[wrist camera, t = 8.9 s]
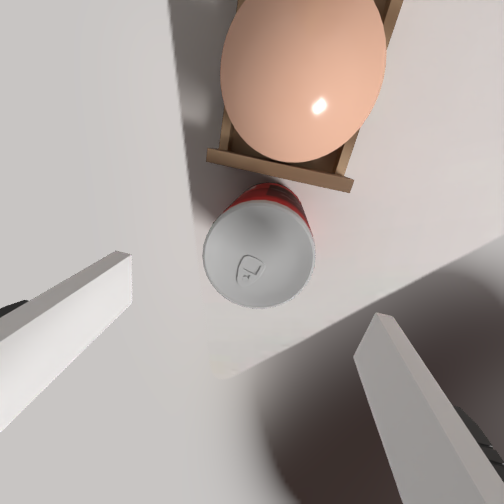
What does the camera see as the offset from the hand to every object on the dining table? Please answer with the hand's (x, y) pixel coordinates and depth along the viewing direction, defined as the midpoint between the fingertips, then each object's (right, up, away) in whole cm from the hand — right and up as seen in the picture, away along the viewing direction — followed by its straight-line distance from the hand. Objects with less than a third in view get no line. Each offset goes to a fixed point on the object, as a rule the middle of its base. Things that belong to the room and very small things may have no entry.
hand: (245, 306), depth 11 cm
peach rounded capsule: (+4, +15, +10) cm, 19 cm away
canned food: (+2, +6, +15) cm, 16 cm away
